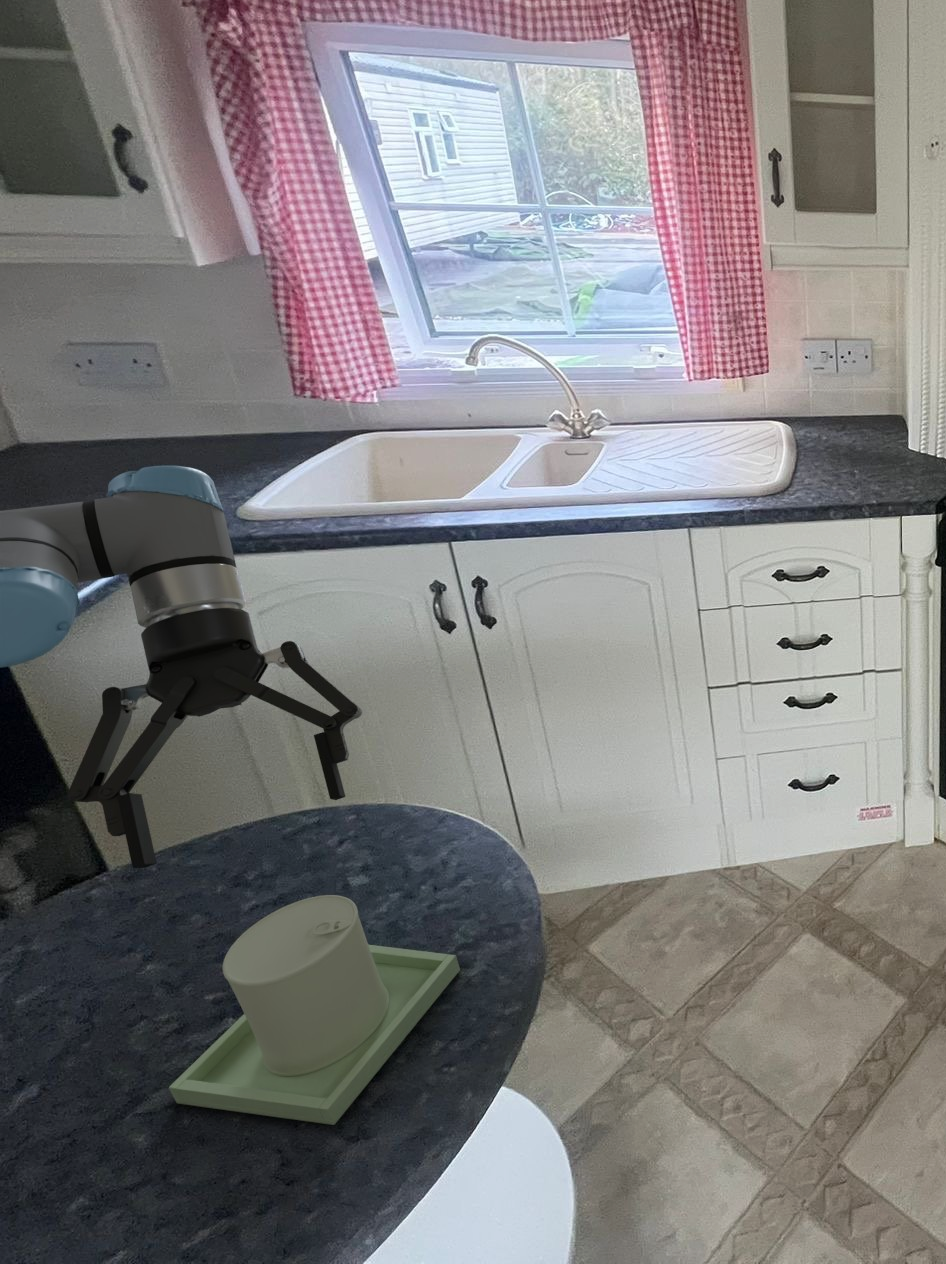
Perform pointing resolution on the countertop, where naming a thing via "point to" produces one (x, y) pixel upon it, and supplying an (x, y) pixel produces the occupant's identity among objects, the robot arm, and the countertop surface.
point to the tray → (323, 1096)
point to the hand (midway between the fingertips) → (246, 830)
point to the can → (307, 984)
